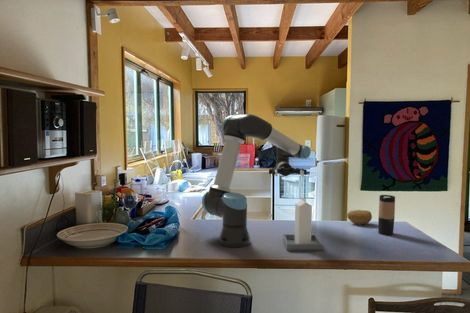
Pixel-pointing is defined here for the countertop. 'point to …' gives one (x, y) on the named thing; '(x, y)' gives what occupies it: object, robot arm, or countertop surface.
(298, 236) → the milk
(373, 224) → the countertop surface
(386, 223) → the travel mug
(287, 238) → the tray
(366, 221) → the potato
